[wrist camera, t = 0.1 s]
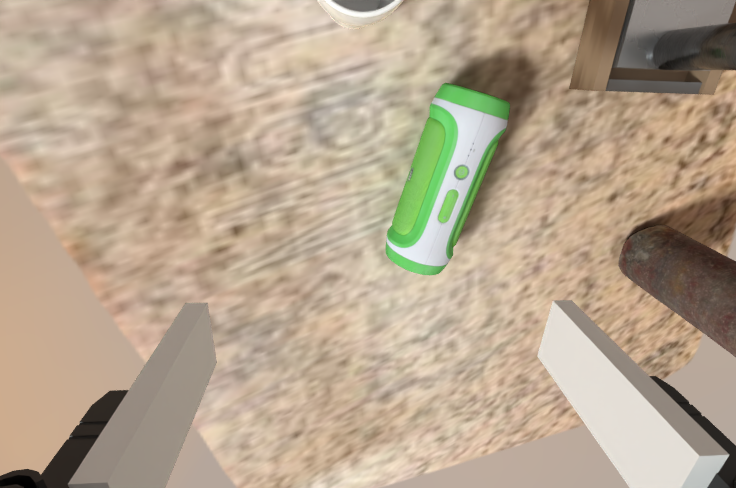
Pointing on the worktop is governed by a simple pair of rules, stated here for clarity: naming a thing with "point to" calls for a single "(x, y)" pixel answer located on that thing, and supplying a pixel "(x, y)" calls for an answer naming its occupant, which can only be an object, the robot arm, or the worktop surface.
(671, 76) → the base
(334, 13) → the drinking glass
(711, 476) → the robot arm
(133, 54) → the worktop surface
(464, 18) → the worktop surface
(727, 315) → the candle
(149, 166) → the worktop surface
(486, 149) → the speaker
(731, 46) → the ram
